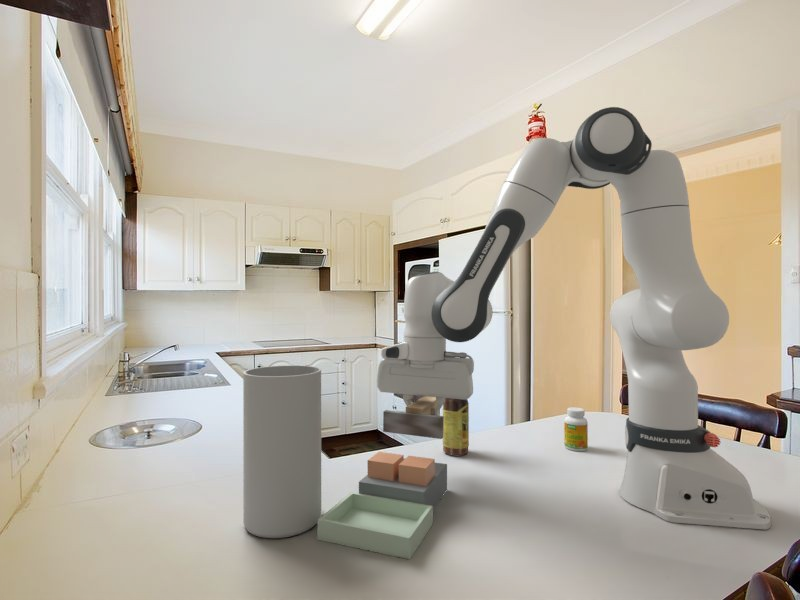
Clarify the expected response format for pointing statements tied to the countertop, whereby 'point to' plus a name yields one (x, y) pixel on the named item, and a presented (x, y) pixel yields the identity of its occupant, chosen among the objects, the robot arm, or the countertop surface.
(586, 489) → the countertop surface
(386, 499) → the tray
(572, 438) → the supplement bottle
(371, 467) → the orange block
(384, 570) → the countertop surface
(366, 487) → the board
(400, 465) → the peach block
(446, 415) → the sauce bottle
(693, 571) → the countertop surface
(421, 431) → the grey and tan blocks
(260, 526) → the cylinder vase
